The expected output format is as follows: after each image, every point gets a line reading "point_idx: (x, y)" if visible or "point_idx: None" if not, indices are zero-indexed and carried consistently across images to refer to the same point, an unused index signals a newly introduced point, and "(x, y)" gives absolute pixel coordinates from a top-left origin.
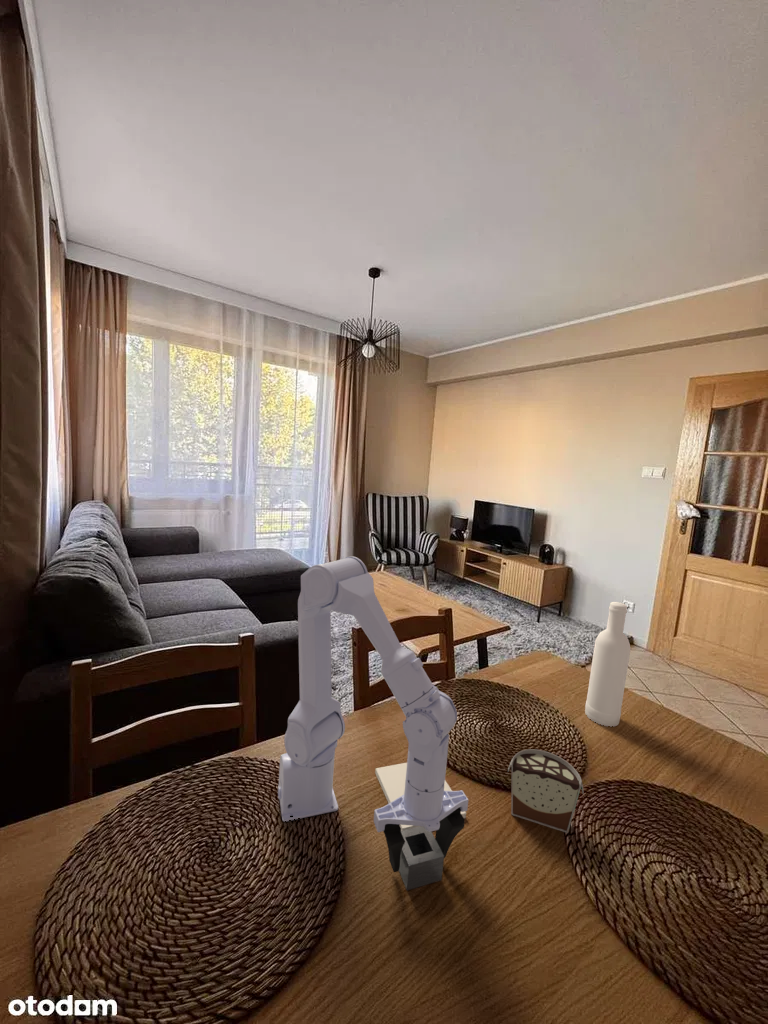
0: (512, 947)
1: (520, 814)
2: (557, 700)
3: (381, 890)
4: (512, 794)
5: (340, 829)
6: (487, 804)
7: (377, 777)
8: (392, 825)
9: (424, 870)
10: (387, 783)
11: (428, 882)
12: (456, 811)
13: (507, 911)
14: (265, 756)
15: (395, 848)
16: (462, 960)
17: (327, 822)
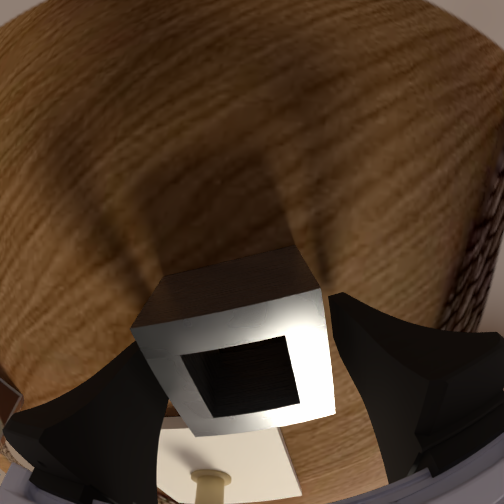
0: (28, 99)
1: (7, 390)
2: None
3: (375, 248)
4: (4, 425)
5: None
6: None
7: (299, 483)
8: (477, 445)
9: (229, 286)
10: (284, 482)
11: (210, 267)
12: (45, 482)
13: (13, 186)
14: None
15: (436, 340)
16: (153, 40)
17: None
